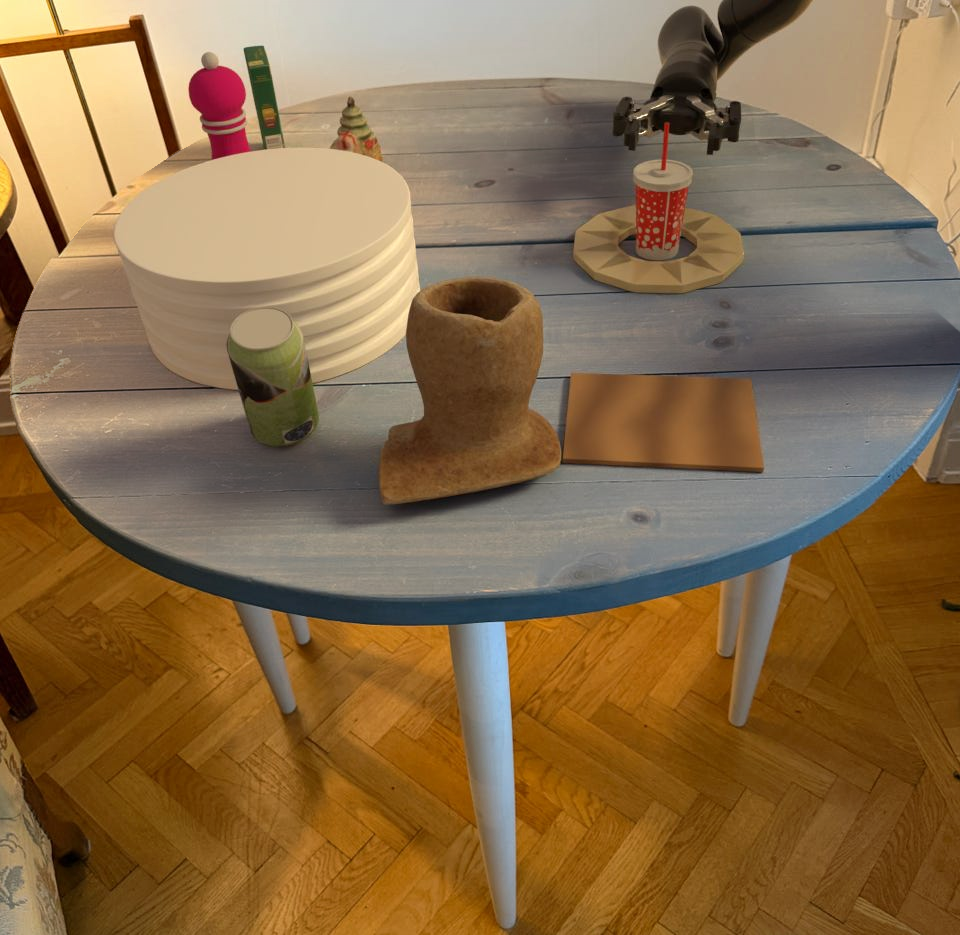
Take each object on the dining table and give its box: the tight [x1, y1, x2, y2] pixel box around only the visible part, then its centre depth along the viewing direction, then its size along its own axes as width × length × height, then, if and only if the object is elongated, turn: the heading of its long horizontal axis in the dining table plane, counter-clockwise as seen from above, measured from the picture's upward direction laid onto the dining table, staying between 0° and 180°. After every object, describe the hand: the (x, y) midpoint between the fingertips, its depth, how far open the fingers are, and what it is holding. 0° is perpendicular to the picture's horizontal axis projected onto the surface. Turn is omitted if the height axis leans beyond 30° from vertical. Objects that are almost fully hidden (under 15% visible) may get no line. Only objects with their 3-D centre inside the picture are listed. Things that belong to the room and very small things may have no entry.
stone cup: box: [378, 276, 562, 505], centre depth 72 cm, size 15×12×15 cm
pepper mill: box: [187, 51, 253, 160], centre depth 104 cm, size 7×7×20 cm
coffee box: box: [242, 45, 286, 150], centre depth 123 cm, size 8×3×13 cm, turn 15°
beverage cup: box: [632, 122, 694, 261], centre depth 97 cm, size 6×6×14 cm
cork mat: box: [562, 372, 765, 473], centre depth 79 cm, size 16×12×1 cm
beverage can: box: [226, 307, 320, 447], centre depth 77 cm, size 6×7×12 cm
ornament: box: [329, 95, 384, 163], centre depth 117 cm, size 8×6×10 cm
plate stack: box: [113, 147, 421, 391], centre depth 93 cm, size 28×28×12 cm
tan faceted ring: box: [572, 204, 745, 294], centre depth 101 cm, size 18×18×1 cm
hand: (671, 144), depth 102 cm, fingers open, 8 cm apart
